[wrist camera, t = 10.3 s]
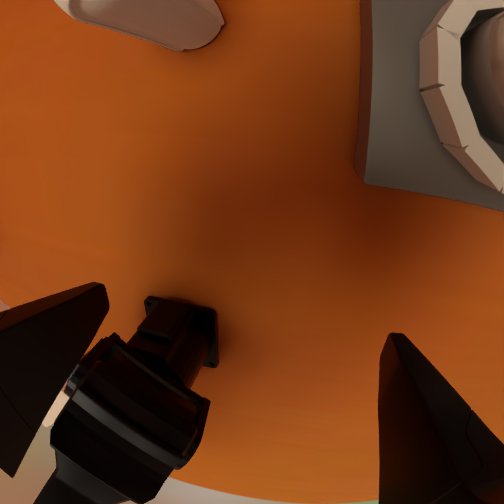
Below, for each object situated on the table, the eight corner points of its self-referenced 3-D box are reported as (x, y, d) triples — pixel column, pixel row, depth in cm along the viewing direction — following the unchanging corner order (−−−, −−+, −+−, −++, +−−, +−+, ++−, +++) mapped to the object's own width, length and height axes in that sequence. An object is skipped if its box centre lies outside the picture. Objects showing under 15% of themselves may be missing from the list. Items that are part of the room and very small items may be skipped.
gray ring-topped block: (527, 205, 14) (588, 247, 8) (353, 167, 17) (371, 197, 10) (536, 51, 9) (599, 42, 3) (359, -11, 12) (372, -72, 5)
